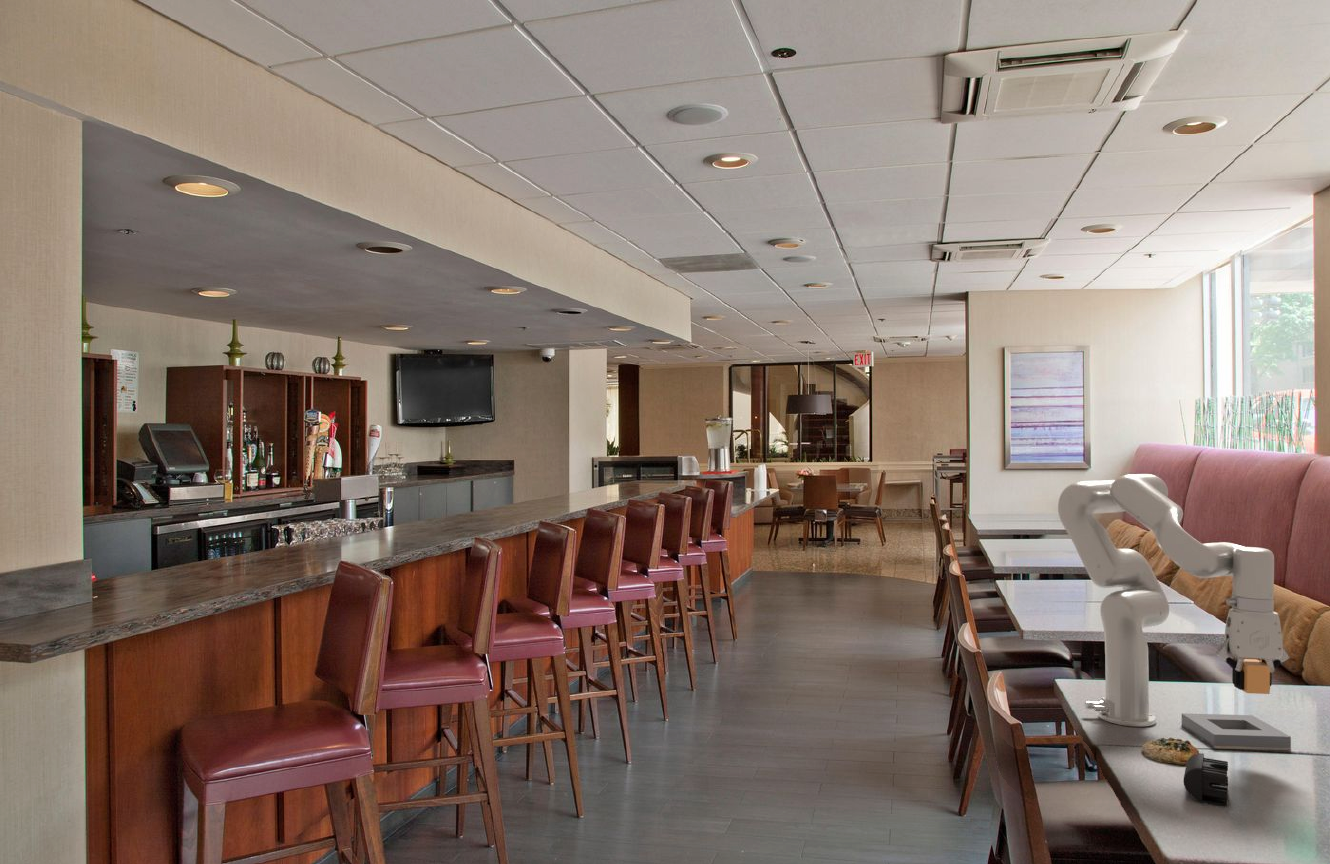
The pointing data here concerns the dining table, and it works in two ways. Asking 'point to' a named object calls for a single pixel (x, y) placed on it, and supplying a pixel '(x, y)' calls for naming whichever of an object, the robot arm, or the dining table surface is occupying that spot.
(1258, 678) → the plug
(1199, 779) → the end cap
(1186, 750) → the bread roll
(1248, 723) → the socket plate
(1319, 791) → the dining table surface
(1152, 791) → the dining table surface
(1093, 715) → the dining table surface
